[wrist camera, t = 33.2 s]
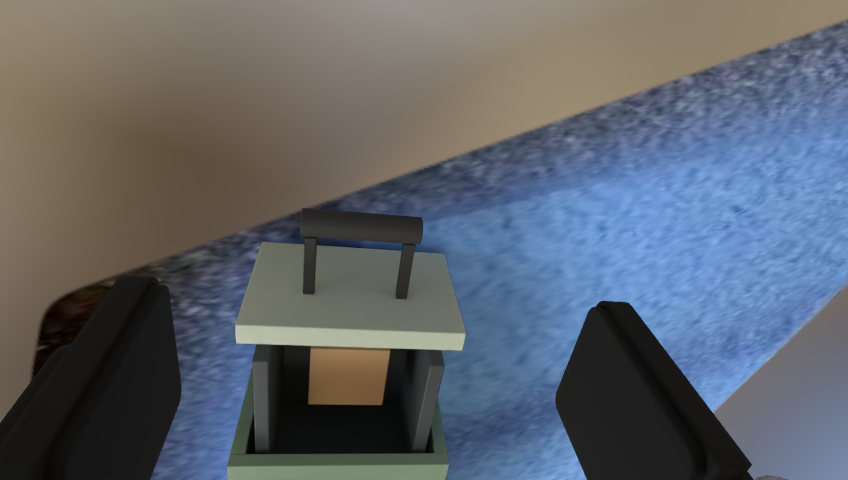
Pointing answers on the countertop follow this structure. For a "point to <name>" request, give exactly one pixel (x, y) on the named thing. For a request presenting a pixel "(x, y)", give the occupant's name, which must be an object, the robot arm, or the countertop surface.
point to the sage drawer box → (332, 457)
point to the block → (347, 375)
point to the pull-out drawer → (348, 333)
